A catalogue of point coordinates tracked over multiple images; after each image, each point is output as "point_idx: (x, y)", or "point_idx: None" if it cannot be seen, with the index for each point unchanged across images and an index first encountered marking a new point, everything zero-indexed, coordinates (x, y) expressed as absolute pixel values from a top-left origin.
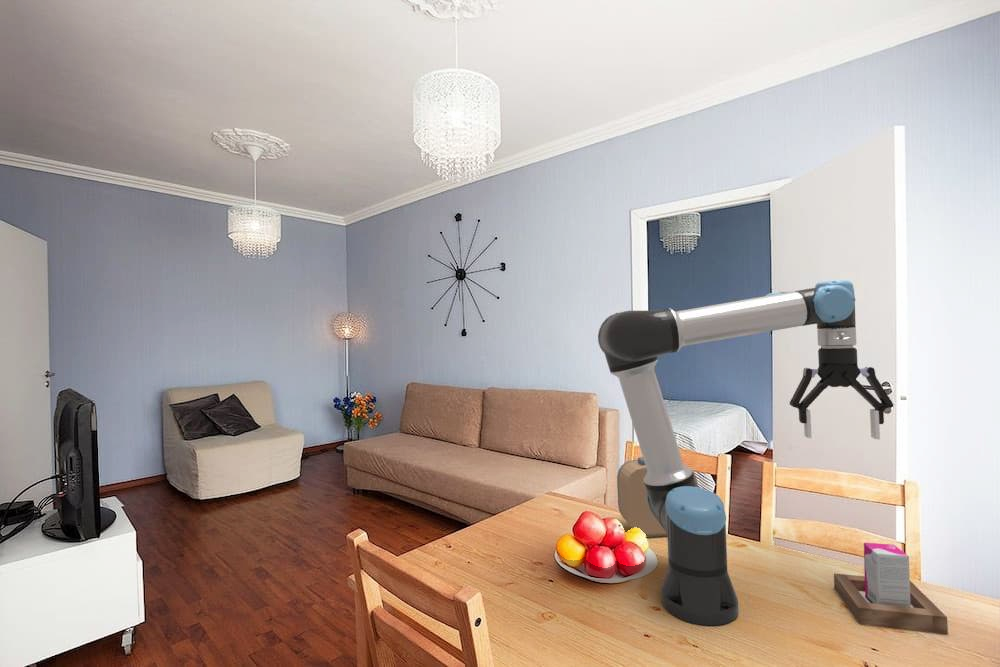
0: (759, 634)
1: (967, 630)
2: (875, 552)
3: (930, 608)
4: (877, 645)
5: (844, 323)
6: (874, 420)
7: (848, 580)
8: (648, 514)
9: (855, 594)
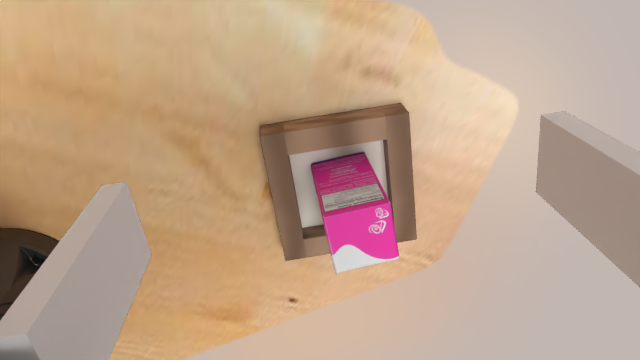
0: (137, 326)
1: (444, 199)
2: (334, 268)
3: (402, 220)
4: (299, 290)
5: None
6: (619, 253)
7: (285, 161)
8: None
9: (288, 216)
